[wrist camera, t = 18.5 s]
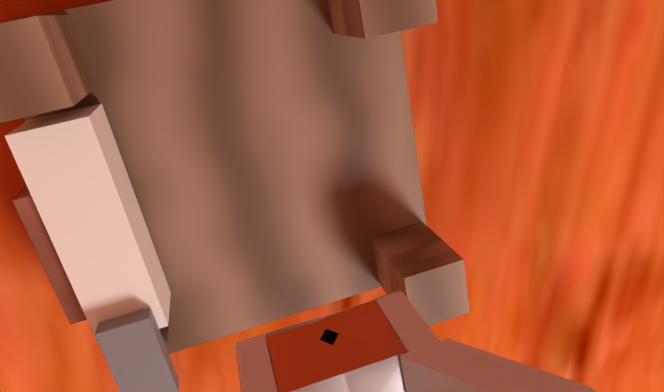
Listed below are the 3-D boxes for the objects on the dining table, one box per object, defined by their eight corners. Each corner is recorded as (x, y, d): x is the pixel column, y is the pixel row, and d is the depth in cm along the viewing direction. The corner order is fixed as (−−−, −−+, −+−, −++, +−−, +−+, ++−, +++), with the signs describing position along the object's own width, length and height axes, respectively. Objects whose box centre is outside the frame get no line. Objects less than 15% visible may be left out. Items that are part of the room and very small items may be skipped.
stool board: (373, -50, 29) (433, -71, 22) (417, 254, 37) (473, 314, 29) (-17, 28, 26) (-100, 35, 18) (121, 345, 33) (101, 440, 26)
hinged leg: (187, 339, 31) (187, 390, 27) (129, 357, 31) (119, 412, 26) (101, 103, 26) (83, 121, 21) (28, 120, 25) (-5, 141, 21)
